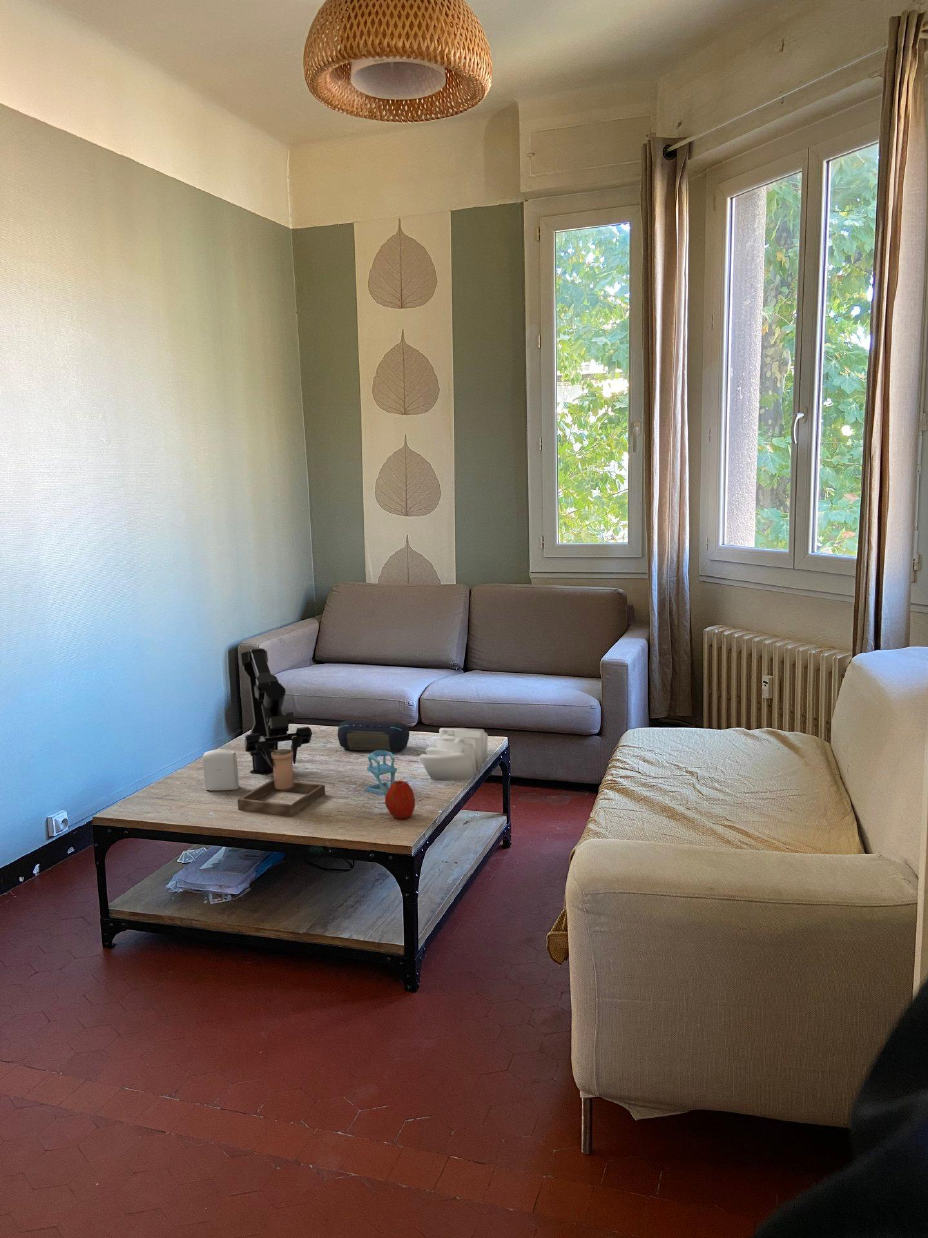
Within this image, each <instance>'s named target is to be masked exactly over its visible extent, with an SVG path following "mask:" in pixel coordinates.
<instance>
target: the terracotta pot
mask: <svg viewBox="0 0 928 1238" xmlns="http://www.w3.org/2000/svg"><path fill="white" fill-rule="evenodd" d="M292 756H293V750H291V748H290V749H289V748H281V749H280V748H278V750H275V751H272V752H271V757H272V759H273V771H272V772H273V779H274V787H275V788H276V789H288V788H291V787H293V786H294V782H293V781H294V769H293V765H294V764H293V759H292Z"/></svg>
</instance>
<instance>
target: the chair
mask: <svg viewBox="0 0 928 1238" xmlns="http://www.w3.org/2000/svg"><path fill="white" fill-rule="evenodd" d="M387 756H389V758H390V760H392V761H391V763H390V764H388V763H387V761H386V757H387ZM379 757H382V763H381V761H380V760H379V759H378V758H379ZM395 758H396V757H395V756H394V754H393V753H392V751H382V750H377V751H372V752H371V753H370V754H368V755H367V759H368V762H369V766H368V767H367V768H366V771H368V772H369V773H371V774H372V775H373V776H374V778H375V780H376V782H377V783H375V784H372V785H368V786H365V787H364V791H366V792H371V793H374V794H378V795H382V796H386V793H387V791H388V789H389V788H390V786H391V785H392V784H393V783H394V782H395V781H396V780H395V777H396V776H395V775H396V772H397V771H398V768H397V767H395V765H394V764H395V760H396V759H395ZM372 761H374V762H375V763H376V764H377V765H374V766H373V762H372ZM387 774H390V782H388V781H384V782H383V781H382V780H381V778H380V776H383V775H387ZM385 787H387V790H386V788H385ZM377 788H381V789H377Z"/></svg>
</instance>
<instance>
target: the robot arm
mask: <svg viewBox="0 0 928 1238" xmlns="http://www.w3.org/2000/svg"><path fill="white" fill-rule="evenodd" d="M238 661H239V666H240V667H241V669H242V673H243V674H244V675H245V676H246V678H247V679H248V686H249V694H250V700H251V711H252V717H253V725H252V728H251V730H250V733H249V734H246V736H245V737H244V751H245V752H246V753H248V754H249V755H250V757H251V760H252V769H251V770H250V772H249V773H251V774H260V775H268V774H270V773H272V772H274V771H273V759H272V757H271V752H272V751H275V750H279V743H280V742H288V741H291V745H290V750H293V756H292V764H293V765H296V761H297V754H298V753H297V752H298V748H300V747H302V745H307V744H309V743H311V740H312V736H313V733H312V728H311V727H310V726H302V727H296V730H295V732H292V733H288V732H289V727H290V725H292V724H293V725H294V724H295V721H296V720H295V715H294V712H292V711H289V712H286V714H284V712H283V706H284V702H285V696H286V688H285V687H284V686H283V685H282V684H281V683H282V682H279V680H278V678H277V676H275V675H274V674H272V673H271V670H270V667H269V665H268V663H269V658H268V650H265V648H262V647H260V648H250V649H248V650H247V651H242V652H241V653H240V654H239V656H238Z"/></svg>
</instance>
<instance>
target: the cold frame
mask: <svg viewBox="0 0 928 1238" xmlns="http://www.w3.org/2000/svg"><path fill="white" fill-rule="evenodd" d="M293 782H294V786H293V787H291V788H288V789H276V788H275V787H274V778H271V779H270V780H269V781H268V780H267V782H264V783H263V784H262V785H260V786H258V787H257V788H255V789H253V790H251V791H249V792H248V793H246V794H244V795H242V796H241V797H239V798H237V809H238V811H239V810H240V811H248V812H255V813H262V814H263V813H264V814H269V815H270V814H271V815H278V816H286V817H294V816H296V815H297V814H299V813H300V812H302V811H304V810H305V809H306V808H308V807H309V806H311V805H312V804H314V803H315V802H316V801H318V800H320V799H321V798H322V797H324V796H325V795H326V787H325V786H326V785H325V784H322V783H321V784H320V783H313V782H312V783H311V782H303V781H294V780H293ZM273 791H283V792H289V793H298V794H305V795H303V796H302V797H301V798H299V799H298V800H296V801H295V802H293V803H291V804H288V803H281V802H272V801H264V800H260V799H261V797H262V798H263V797H265V796H266V795H268V794H270V793H271V792H273Z"/></svg>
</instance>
